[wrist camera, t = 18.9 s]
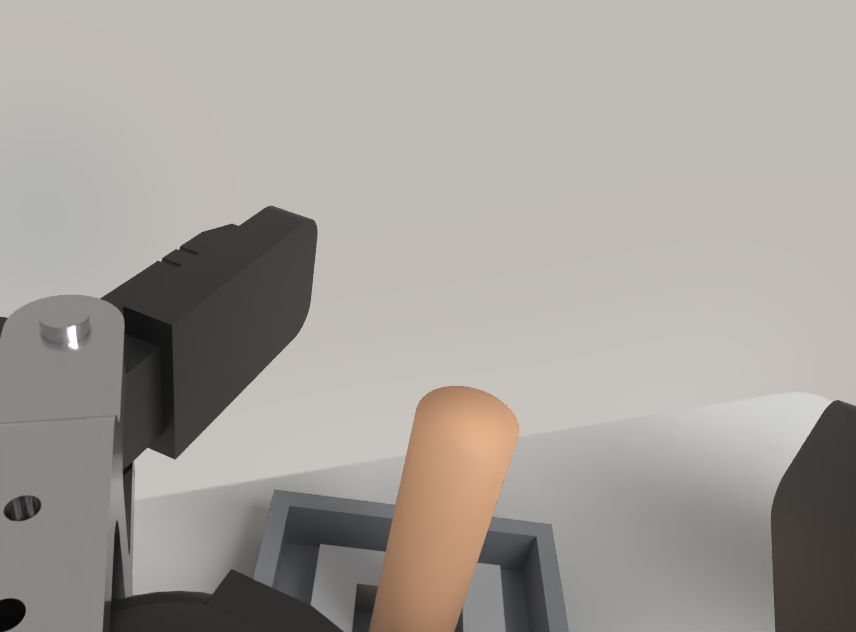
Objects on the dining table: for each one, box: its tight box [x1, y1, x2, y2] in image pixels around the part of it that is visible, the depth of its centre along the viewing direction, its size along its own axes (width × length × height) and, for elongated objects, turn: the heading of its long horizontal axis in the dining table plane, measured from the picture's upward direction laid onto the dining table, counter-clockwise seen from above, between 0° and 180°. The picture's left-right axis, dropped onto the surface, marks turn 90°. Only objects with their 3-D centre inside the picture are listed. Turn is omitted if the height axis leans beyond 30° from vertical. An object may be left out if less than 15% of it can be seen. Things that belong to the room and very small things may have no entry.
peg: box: [369, 386, 519, 632], centre depth 33 cm, size 4×4×17 cm
